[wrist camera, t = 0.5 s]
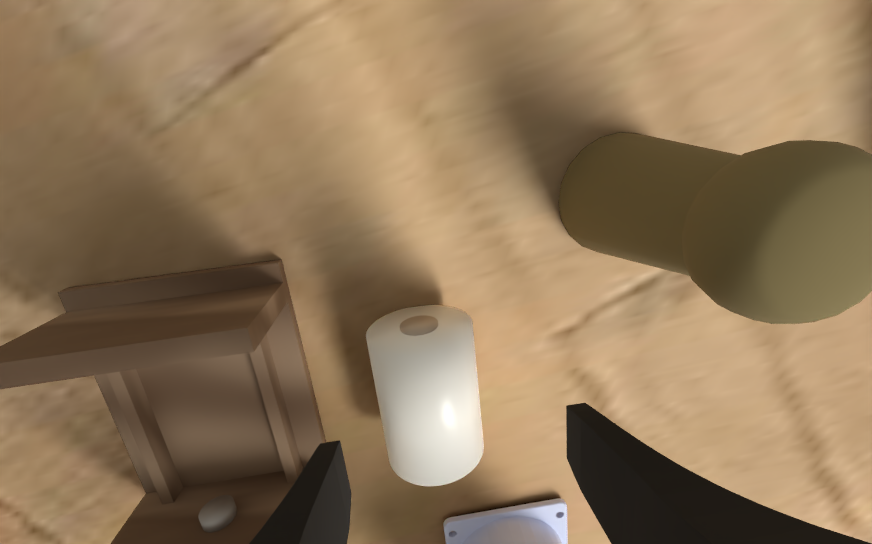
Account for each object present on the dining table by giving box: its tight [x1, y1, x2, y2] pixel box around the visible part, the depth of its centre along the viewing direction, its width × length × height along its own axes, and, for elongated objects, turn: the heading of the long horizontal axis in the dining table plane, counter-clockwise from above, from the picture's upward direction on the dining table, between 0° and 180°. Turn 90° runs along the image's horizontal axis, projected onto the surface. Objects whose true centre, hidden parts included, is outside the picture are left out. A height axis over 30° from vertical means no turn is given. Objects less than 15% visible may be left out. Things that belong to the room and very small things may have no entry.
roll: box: [366, 305, 484, 486], centre depth 20 cm, size 7×5×5 cm
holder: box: [0, 260, 326, 544], centre depth 19 cm, size 14×10×6 cm
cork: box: [559, 133, 872, 324], centre depth 15 cm, size 6×6×11 cm
